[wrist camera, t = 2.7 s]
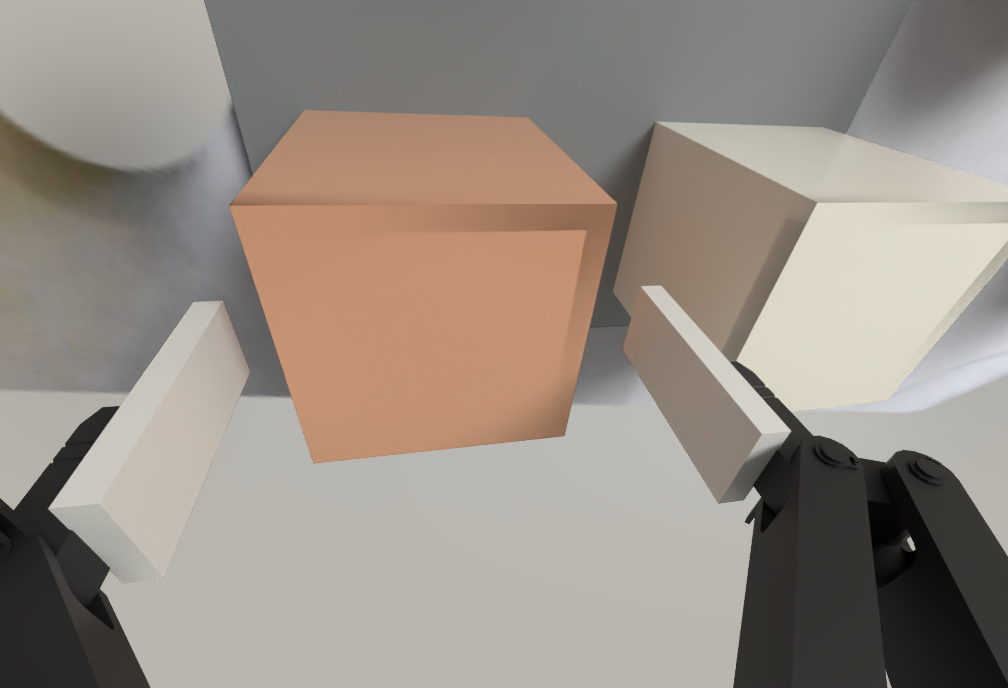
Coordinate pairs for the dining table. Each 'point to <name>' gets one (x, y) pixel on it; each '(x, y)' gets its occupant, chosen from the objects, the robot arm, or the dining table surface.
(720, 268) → the cream lidded box
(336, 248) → the peach colored cube
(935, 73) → the dining table surface
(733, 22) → the slate mat
